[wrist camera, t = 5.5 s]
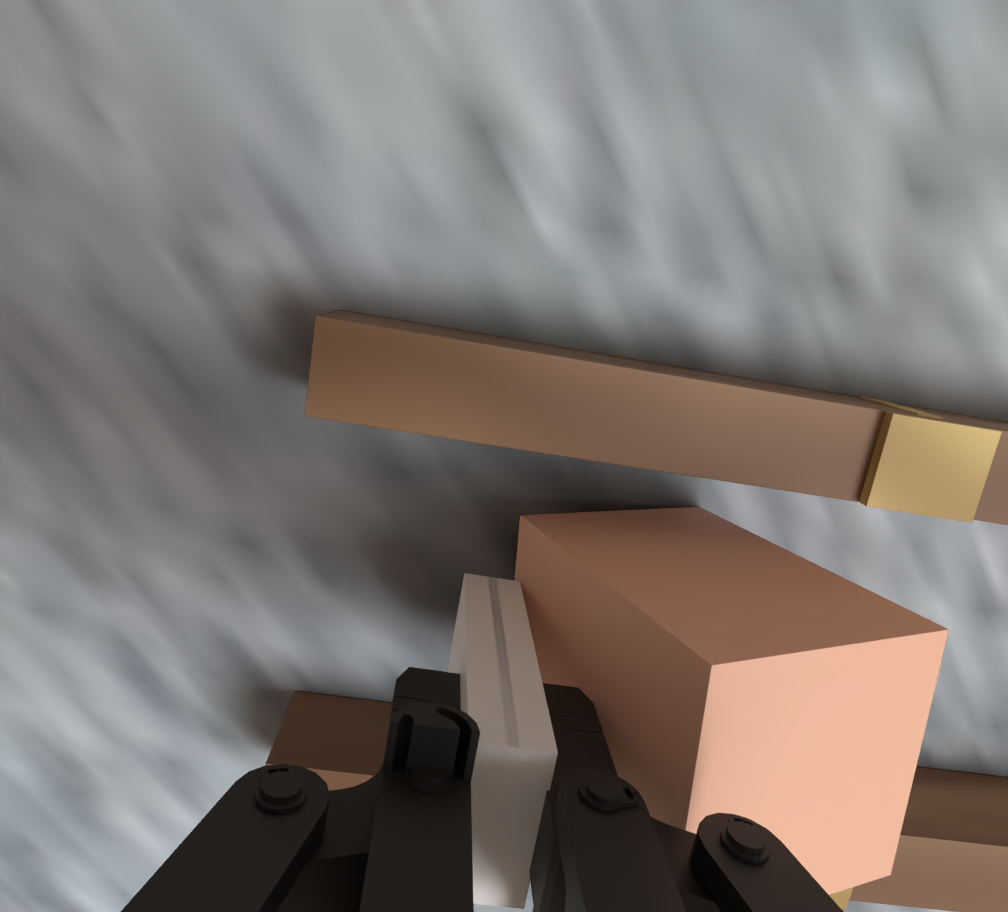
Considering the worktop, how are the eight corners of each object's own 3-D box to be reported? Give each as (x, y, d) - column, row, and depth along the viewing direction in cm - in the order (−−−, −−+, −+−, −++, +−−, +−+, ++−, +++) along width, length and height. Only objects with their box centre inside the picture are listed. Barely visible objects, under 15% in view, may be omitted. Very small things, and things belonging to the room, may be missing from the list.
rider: (520, 515, 17) (712, 665, 11) (698, 506, 19) (948, 629, 13) (502, 708, 18) (666, 946, 12) (672, 682, 20) (890, 875, 14)
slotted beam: (341, 307, 17) (313, 314, 14) (1324, 473, 20) (1493, 511, 16) (287, 758, 20) (253, 850, 17) (1159, 857, 22) (1276, 955, 19)
